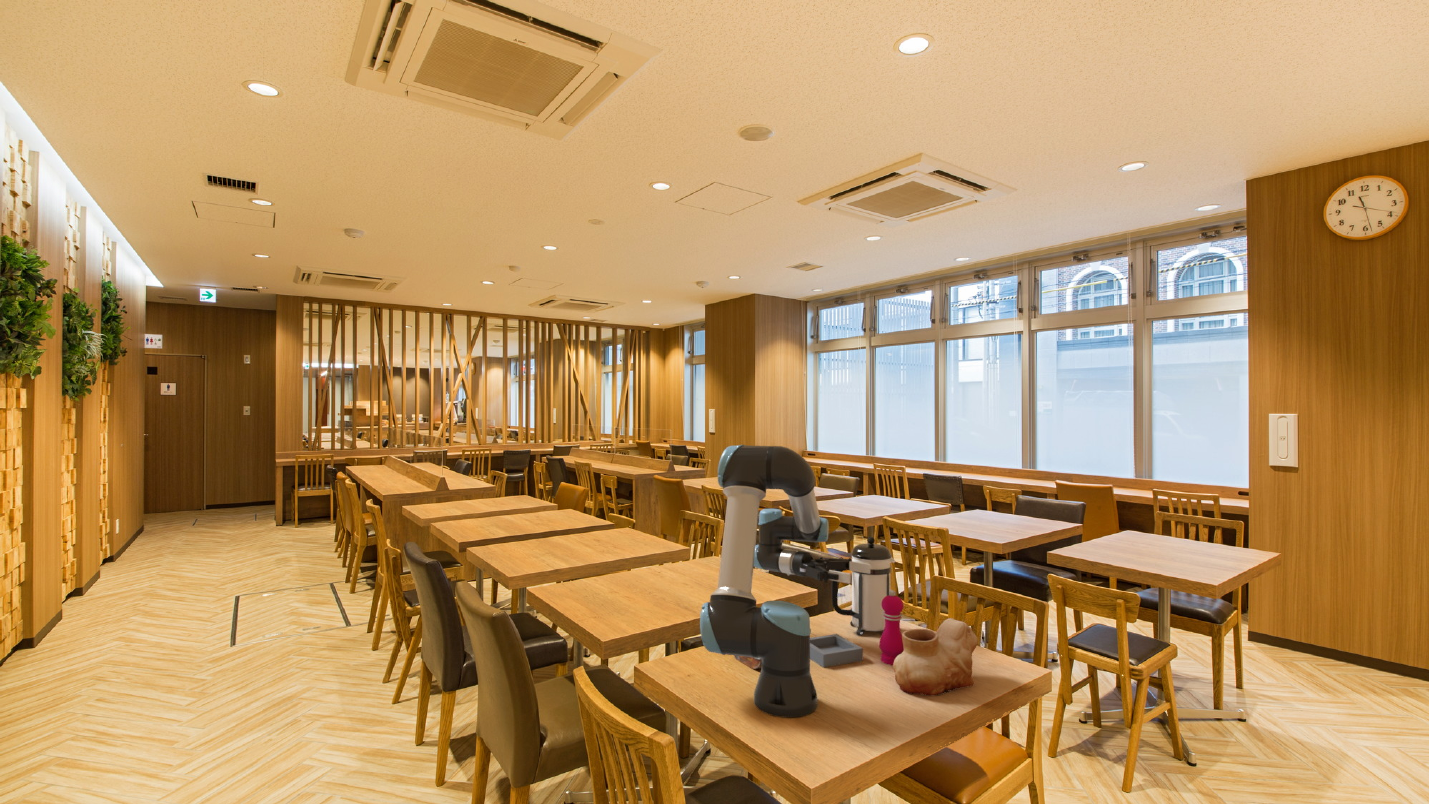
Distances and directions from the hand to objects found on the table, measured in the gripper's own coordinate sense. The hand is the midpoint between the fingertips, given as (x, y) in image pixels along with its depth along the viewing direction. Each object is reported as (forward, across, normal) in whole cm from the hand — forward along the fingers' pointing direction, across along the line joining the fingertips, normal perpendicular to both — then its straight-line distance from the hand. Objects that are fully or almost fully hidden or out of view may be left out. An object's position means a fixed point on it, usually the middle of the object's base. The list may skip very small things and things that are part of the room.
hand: (860, 573), depth 191 cm
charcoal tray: (-6, +8, -23) cm, 25 cm away
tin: (-21, +27, -23) cm, 41 cm away
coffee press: (-6, -19, -24) cm, 31 cm away
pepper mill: (+10, +1, -23) cm, 25 cm away
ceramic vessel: (+25, +7, -23) cm, 35 cm away
